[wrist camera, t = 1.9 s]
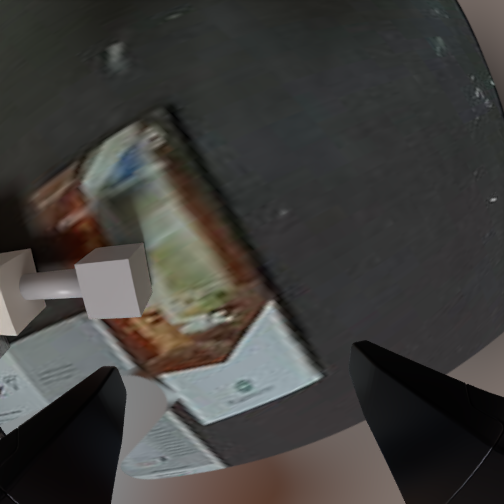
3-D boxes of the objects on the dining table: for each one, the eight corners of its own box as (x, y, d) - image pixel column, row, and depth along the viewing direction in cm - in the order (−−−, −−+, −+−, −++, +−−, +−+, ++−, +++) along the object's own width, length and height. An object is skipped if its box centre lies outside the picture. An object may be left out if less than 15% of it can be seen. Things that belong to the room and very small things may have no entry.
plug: (154, 300, 17) (138, 335, 13) (-22, 307, 16) (-50, 330, 12) (142, 233, 16) (119, 255, 12) (-37, 259, 15) (-68, 277, 11)
